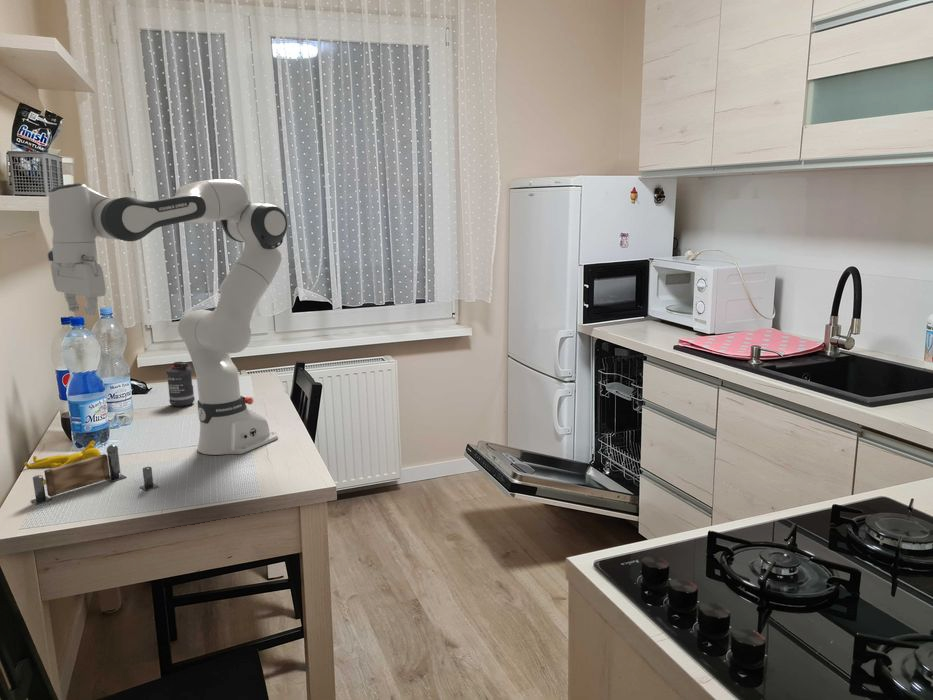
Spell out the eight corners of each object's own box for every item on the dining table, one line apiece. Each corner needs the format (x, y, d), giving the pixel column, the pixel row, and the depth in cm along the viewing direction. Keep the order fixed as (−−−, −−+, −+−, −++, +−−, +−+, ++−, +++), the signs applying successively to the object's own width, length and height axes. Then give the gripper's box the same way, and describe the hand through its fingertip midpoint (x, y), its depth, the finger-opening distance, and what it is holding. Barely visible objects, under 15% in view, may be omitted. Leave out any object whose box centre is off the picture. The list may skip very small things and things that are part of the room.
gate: (107, 477, 175) (104, 454, 174) (110, 478, 174) (107, 455, 173) (47, 495, 165) (44, 470, 164) (50, 496, 164) (46, 472, 163)
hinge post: (119, 474, 179) (115, 441, 177) (126, 477, 176) (122, 444, 175) (105, 478, 176) (101, 445, 174) (111, 482, 174) (107, 448, 172)
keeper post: (152, 483, 172) (150, 464, 171) (158, 486, 170) (156, 467, 169) (139, 487, 170) (137, 468, 169) (145, 491, 168) (143, 471, 167)
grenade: (200, 403, 242) (196, 361, 239) (181, 409, 235) (177, 366, 232) (183, 400, 246) (179, 359, 243) (164, 406, 239) (160, 363, 236)
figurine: (39, 447, 191) (107, 438, 193) (43, 462, 192) (110, 453, 194) (14, 465, 178) (87, 455, 180) (19, 481, 179) (91, 471, 181)
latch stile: (45, 496, 165) (42, 473, 164) (51, 500, 163) (47, 476, 162) (31, 501, 163) (27, 477, 162) (36, 504, 161) (32, 480, 160)
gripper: (109, 255, 158) (116, 315, 161) (71, 252, 171) (78, 308, 174) (80, 257, 154) (87, 318, 156) (43, 253, 166) (51, 310, 169)
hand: (82, 313), depth 165 cm, fingers open, 8 cm apart
